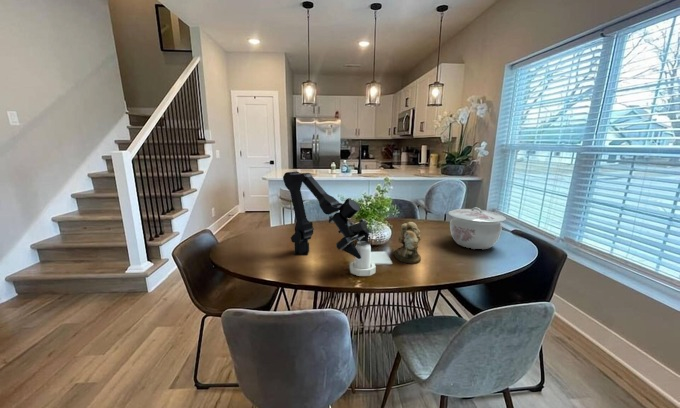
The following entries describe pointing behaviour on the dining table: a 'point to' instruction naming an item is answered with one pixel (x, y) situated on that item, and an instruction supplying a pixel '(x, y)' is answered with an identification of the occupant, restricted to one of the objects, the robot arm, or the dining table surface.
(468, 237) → the chamber pot
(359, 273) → the ring
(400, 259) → the owl figurine
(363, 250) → the can
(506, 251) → the dining table surface
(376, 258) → the mat
